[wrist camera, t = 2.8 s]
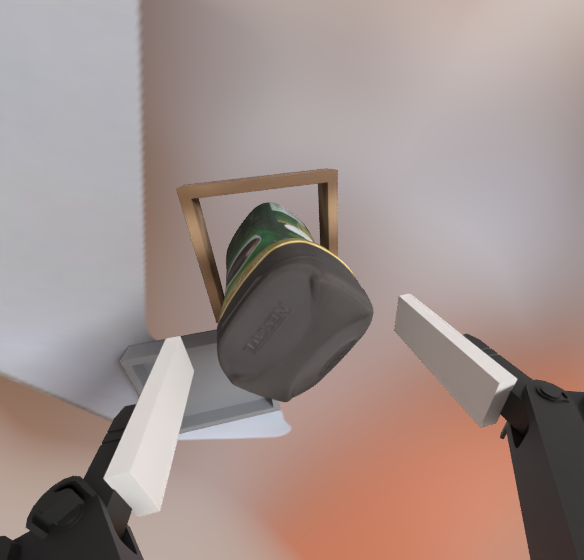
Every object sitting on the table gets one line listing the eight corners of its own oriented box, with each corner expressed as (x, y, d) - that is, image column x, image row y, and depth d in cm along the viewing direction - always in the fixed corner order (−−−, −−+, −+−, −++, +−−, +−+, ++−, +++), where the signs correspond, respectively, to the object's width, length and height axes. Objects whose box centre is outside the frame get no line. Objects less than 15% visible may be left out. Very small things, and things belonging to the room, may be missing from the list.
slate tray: (128, 345, 31) (119, 361, 29) (264, 320, 34) (266, 333, 31) (169, 419, 39) (164, 437, 36) (278, 394, 41) (280, 409, 39)
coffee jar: (271, 289, 32) (303, 428, 15) (217, 258, 28) (183, 393, 12) (317, 229, 29) (413, 319, 13) (263, 188, 26) (299, 239, 10)
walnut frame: (184, 184, 24) (176, 188, 21) (326, 168, 26) (337, 169, 23) (219, 306, 31) (216, 322, 28) (329, 287, 33) (337, 300, 30)
